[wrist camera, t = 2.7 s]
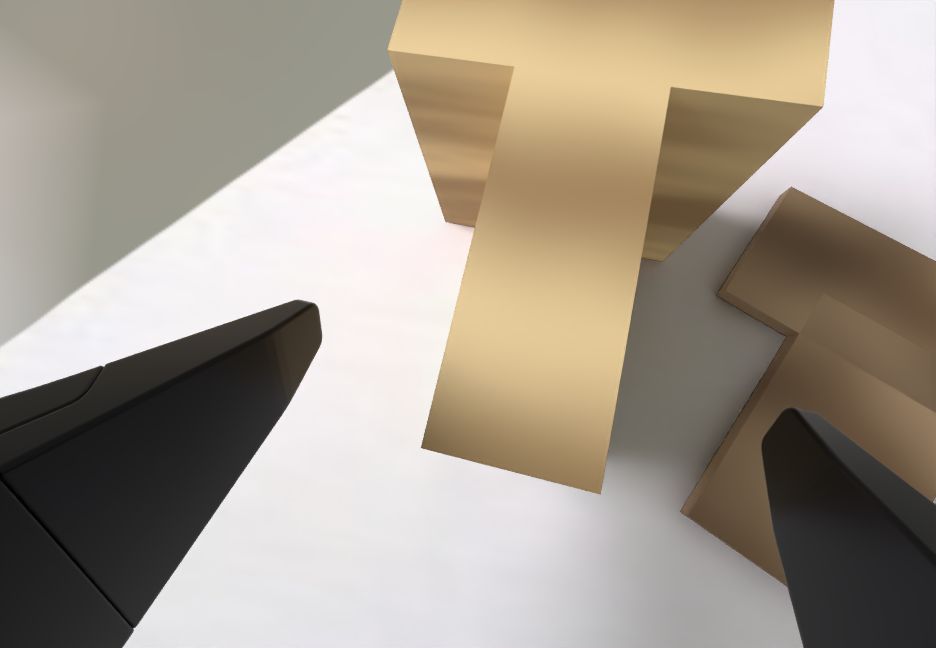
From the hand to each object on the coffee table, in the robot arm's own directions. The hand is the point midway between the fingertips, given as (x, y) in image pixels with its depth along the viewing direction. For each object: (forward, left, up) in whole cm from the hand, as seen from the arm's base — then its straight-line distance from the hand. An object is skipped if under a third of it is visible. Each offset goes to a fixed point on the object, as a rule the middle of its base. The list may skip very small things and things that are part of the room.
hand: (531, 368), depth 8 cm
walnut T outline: (+7, -11, -10) cm, 17 cm away
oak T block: (+5, +2, -10) cm, 12 cm away
